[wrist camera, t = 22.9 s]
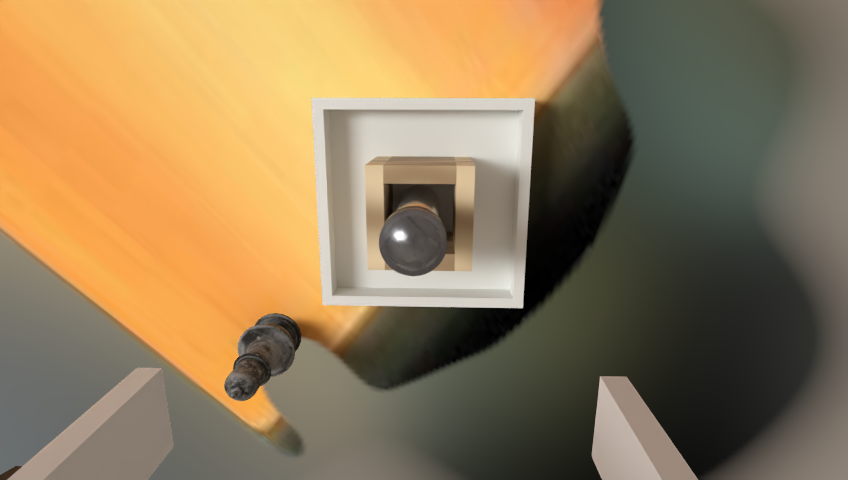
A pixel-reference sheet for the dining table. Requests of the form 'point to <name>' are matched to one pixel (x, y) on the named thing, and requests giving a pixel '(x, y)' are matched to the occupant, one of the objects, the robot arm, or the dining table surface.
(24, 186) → the dining table surface
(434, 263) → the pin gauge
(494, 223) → the tray
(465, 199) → the wooden box
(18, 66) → the dining table surface
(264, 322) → the salt shaker
